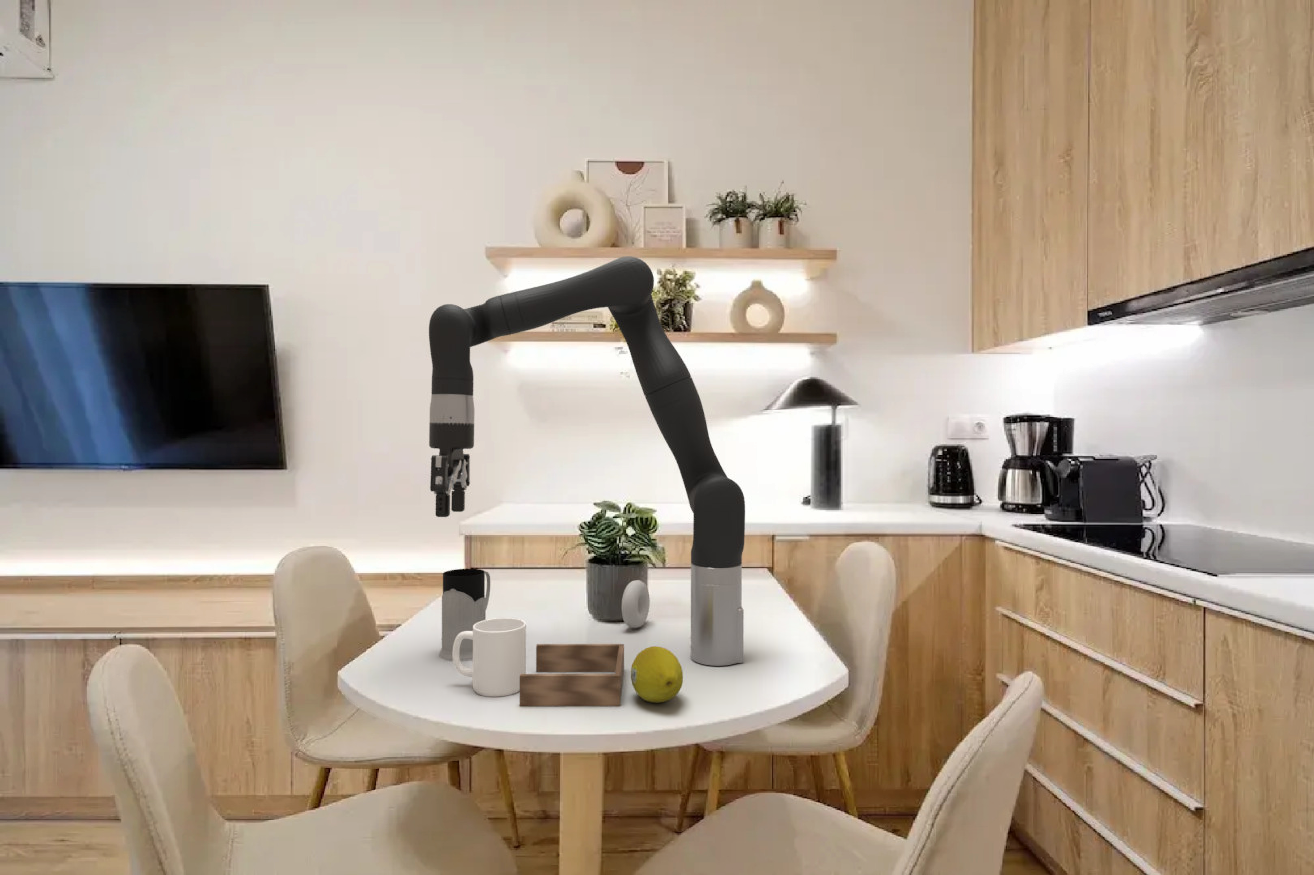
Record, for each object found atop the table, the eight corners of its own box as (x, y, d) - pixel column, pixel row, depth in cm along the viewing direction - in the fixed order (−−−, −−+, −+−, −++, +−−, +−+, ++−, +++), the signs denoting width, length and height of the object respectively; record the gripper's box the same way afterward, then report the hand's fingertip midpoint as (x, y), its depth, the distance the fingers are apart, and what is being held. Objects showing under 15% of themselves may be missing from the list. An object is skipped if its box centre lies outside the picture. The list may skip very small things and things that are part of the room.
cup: (516, 698, 105) (516, 632, 105) (441, 695, 106) (441, 630, 106) (532, 679, 113) (532, 618, 113) (462, 676, 114) (463, 616, 114)
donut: (637, 621, 149) (637, 575, 149) (652, 622, 148) (652, 576, 148) (618, 633, 140) (618, 584, 140) (633, 635, 138) (634, 585, 138)
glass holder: (429, 658, 123) (429, 575, 123) (469, 636, 137) (469, 562, 137) (473, 662, 121) (473, 578, 121) (509, 639, 135) (509, 563, 135)
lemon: (627, 689, 108) (627, 639, 108) (675, 687, 110) (676, 637, 110) (635, 717, 98) (635, 661, 98) (688, 714, 99) (688, 659, 99)
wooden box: (624, 670, 117) (624, 644, 117) (620, 705, 102) (620, 675, 102) (536, 670, 117) (537, 644, 117) (519, 706, 102) (519, 675, 102)
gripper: (461, 420, 112) (459, 519, 112) (484, 422, 126) (482, 510, 126) (415, 420, 112) (414, 518, 112) (443, 422, 126) (442, 509, 126)
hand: (450, 514), depth 119 cm, fingers open, 8 cm apart
